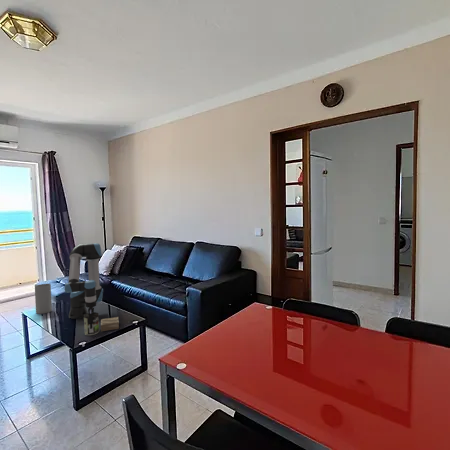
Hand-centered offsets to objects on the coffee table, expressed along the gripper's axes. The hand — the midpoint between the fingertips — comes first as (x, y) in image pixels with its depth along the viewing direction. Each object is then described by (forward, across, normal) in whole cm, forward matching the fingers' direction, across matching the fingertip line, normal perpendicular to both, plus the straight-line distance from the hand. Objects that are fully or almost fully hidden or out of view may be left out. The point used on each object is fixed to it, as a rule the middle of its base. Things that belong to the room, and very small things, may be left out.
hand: (91, 329), depth 221 cm
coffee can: (+3, 0, 0) cm, 3 cm away
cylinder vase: (+2, -69, -44) cm, 82 cm away
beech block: (+2, -6, +13) cm, 14 cm away
